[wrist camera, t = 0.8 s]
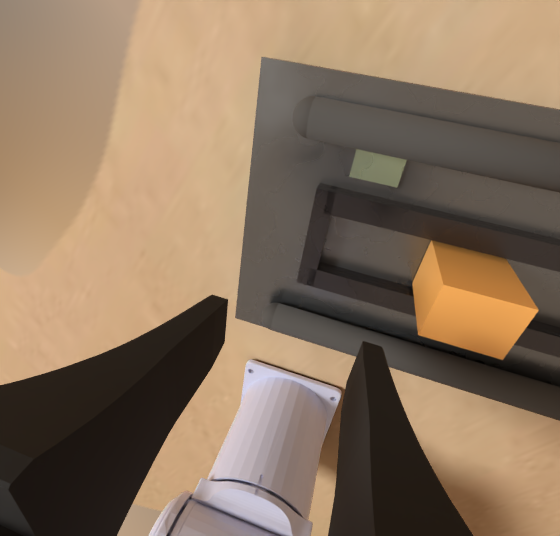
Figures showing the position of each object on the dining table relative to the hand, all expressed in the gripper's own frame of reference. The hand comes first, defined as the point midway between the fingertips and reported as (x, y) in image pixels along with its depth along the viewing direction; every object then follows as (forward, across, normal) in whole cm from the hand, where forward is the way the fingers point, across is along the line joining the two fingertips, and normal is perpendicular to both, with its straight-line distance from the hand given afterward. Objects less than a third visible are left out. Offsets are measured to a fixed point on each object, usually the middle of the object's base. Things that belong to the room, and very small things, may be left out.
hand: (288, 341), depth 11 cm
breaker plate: (+10, -7, 0) cm, 13 cm away
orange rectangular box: (+9, -7, 0) cm, 11 cm away
